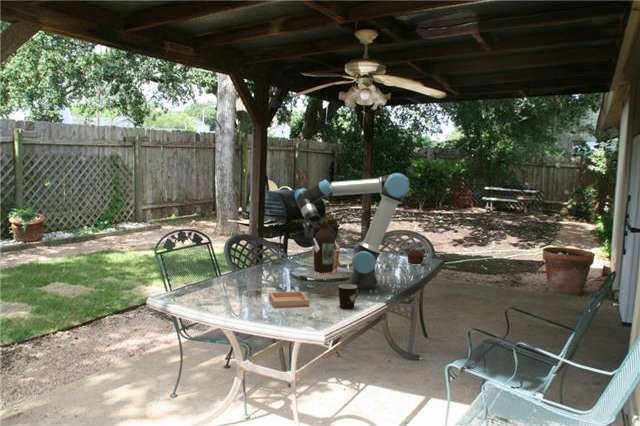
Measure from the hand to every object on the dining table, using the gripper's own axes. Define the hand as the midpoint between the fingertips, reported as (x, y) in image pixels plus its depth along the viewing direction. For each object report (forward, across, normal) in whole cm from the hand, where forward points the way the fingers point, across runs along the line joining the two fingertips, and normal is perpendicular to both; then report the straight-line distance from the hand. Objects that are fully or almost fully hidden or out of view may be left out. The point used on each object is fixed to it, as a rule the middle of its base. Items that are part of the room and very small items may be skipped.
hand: (327, 249), depth 243 cm
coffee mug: (+30, -1, -4) cm, 31 cm away
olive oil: (+6, 0, -10) cm, 12 cm away
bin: (+16, +20, -18) cm, 31 cm away
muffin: (-15, -105, -50) cm, 117 cm away
